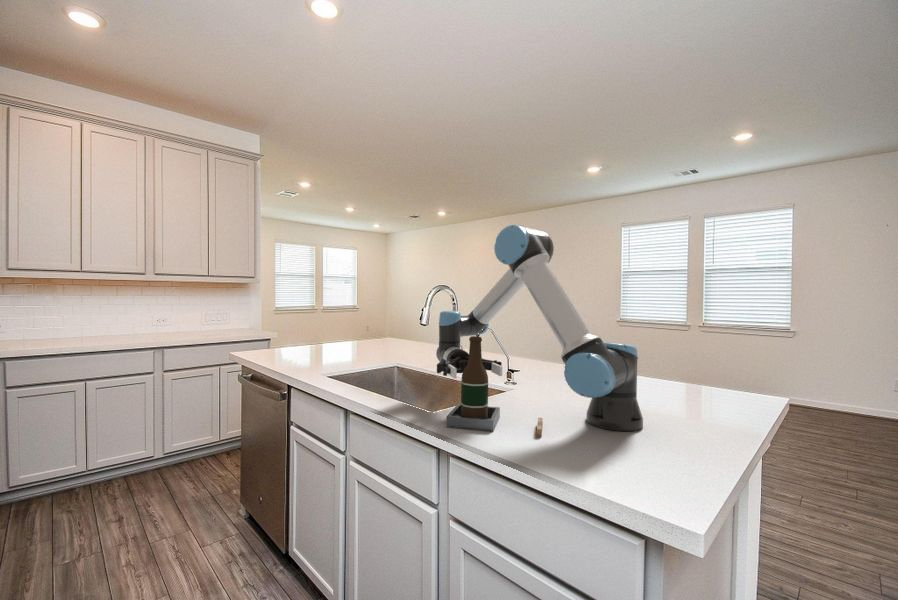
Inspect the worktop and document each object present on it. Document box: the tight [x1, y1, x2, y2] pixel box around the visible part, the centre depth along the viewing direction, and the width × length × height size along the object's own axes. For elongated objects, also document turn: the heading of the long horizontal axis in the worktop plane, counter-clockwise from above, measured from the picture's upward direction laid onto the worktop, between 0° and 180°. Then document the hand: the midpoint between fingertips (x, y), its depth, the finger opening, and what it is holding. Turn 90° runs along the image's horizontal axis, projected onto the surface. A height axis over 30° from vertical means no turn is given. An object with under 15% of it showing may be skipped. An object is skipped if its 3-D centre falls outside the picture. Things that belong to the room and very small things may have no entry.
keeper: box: [445, 403, 501, 433], centre depth 116 cm, size 13×13×3 cm
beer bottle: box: [460, 335, 489, 419], centre depth 116 cm, size 8×8×24 cm
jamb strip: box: [536, 417, 544, 438], centre depth 109 cm, size 10×1×2 cm, turn 165°
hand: (478, 372), depth 113 cm, fingers open, 13 cm apart
